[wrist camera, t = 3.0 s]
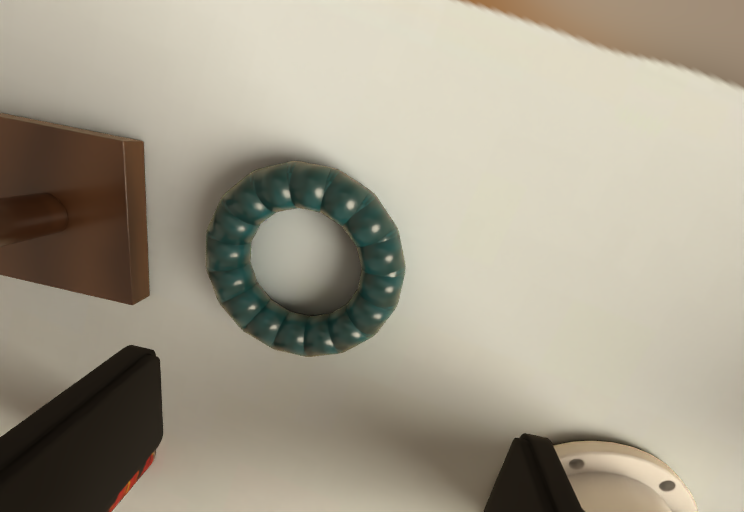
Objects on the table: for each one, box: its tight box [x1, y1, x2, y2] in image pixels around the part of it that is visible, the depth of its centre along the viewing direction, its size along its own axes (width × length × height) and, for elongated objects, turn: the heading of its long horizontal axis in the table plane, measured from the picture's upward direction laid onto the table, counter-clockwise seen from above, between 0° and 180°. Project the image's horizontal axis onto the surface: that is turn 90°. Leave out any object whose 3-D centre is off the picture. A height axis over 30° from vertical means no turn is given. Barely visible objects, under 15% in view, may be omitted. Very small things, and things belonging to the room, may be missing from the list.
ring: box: [206, 161, 406, 357], centre depth 20 cm, size 11×11×2 cm
